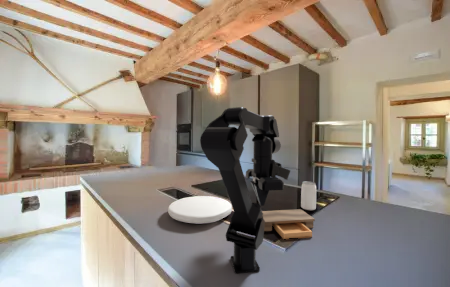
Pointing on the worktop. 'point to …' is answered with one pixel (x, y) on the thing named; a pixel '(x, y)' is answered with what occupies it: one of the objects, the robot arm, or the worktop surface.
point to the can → (308, 195)
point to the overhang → (286, 218)
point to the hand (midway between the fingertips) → (262, 205)
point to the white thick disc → (200, 209)
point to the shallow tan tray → (292, 230)
